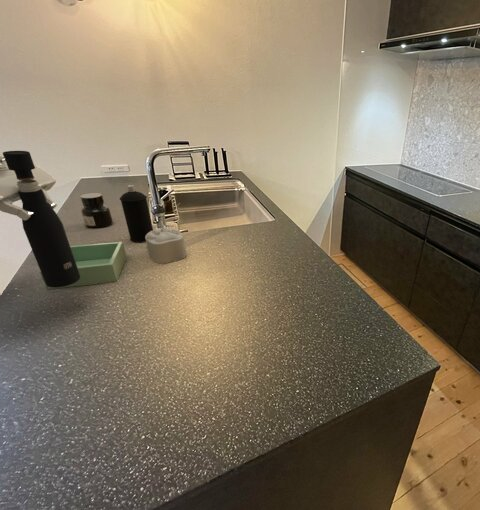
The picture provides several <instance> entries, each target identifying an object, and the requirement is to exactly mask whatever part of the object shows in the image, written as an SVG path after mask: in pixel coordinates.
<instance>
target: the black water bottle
mask: <svg viewBox="0 0 480 510" xmlns="http://www.w3.org/2000/svg"><path fill="white" fill-rule="evenodd" d="M2 157H4V158H5V161H6V163H7V166H8V168H9V170H13V171H15V174H16V177H17V179H18V180H22V181H18V182H17V186H19V187H18V189H20V190H19V191H18V193H19V196H20V198H21V200H20V201H21V204H22V207H21V208H23V209H24V208H28V209H29V210H30V211H32V212H33V213H34V215H33V216H32V217H31V218H30V219H28V220H22V219H21V224H22V228H23V231H24V234H25V236H26V238H27V241H28V243H29V246H30V247H31V248H30V249H31V251H32V253H33V256H34V258H35V261H36V263H37V266H38V268H39V272H40V271H41V273H42V276H43V278H44V281H45V283H46V285H47V286H48V287H53V288H55V287H64V286H68V285H71V284H73V283H75V282H77V281H78V280H79V279H80V274H79V271H78V268H77V265H76V262H75V259H74V256H73V253H72V250H71V247H70V246H71V245H70V242H69V239H68V236H67V233H66V230H65V227H64V224H63V222H62V220H61V218H60V217H59V215H58V213H57V212H56V211H55V210H54V209H52V207H51V206H50V205H49V204H48V203H47V201H46V198H45V196H44V193H43V190H42V189H40V186H39V185H38V184H39V183H38V182H37V181H36V180H32V179H34V176H33V173H32V171H31V170H32V169H35V166H34V164H35V163H34V161H33V158H32V155H31V153H30V151H28V150H8V151H3V152H2ZM42 276H41V277H42ZM44 281H43V282H44ZM45 283H44V284H45Z"/></svg>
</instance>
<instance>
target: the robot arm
mask: <svg viewBox="0 0 480 510" xmlns="http://www.w3.org/2000/svg"><path fill="white" fill-rule="evenodd" d="M34 166H35V169H32V170H31V171H32V173H33V176H34V179H32V180H36V181H37V182H38V183H39V184H38V185H39V186H40V189H42V190H43V193H44V196H45V198H46V201H47V203H48V204H49V205H50V206H51V207H52V209H53V210H54V209H56V207H57V206H58V204H57V202H55V200H53V199H51V197H50V195H49V193H48V191H50V190H51V189H52V188H53V187H54V185H56V183H57V180H56V178H55V177H54V176H53V174H51V173H49V172H47V170H45V169H43V168H42V167H40V166H39V165H37V164H35V163H34ZM18 181H22V180H18V179H17V177H16V174H15V171H13V170H9V168H8V166H7V163H6V161H5V158H4V156H3V155H1V154H0V211H1V213H2V212H3V213H5V214H6V213H7V214H9V215H13V216H15V217H18V218H19V219H20V220H21V221H22V220H28V219H30V218H31V217H32V216H33V215H34V213H33V212H32V211H30V210H29V209H28V208H24V209H23V208H22V207H20V206H17V205H14V203H15V202H18V201H21V198H20V196H19V193H18V191H19V190H20V189H18V187H19V186H17V182H18Z"/></svg>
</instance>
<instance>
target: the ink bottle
mask: <svg viewBox="0 0 480 510" xmlns="http://www.w3.org/2000/svg"><path fill="white" fill-rule="evenodd" d="M79 199H80V202H81V204H82V206H83V208H81V211H80V212H81V216H82V218H83V221H84V224H85V227H86V228H89V229H101V228H105V227H108V226H109V227H110V226H111V225H112V224H113V223H114V221H113V217H112V214H111V211H110V208H109V206H107V205H106V204H105V200H104V197H103V194H102V193H99V192H98V193H97V192H92V193H91V192H90V193H85V194H84V193H83V194H81V195H80V196H79Z"/></svg>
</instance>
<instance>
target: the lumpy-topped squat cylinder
mask: <svg viewBox="0 0 480 510" xmlns="http://www.w3.org/2000/svg"><path fill="white" fill-rule="evenodd" d="M145 239H146V242H145V243H146V247H147V251H148V256H149V258H150V259H151V261H152V262H153V263H155V264H159V265H163V264H168V263H171V262H175V261H179V260H183V259H184V258H186V257H187V251H186V246H185V240H184V236H183V234H182V233H181V232H180V230H179V229H178V228H168V227H167V226H164V227H160V228H153V231H150V232H149V233H148V234H147V235H146V236H145ZM185 256H186V257H185Z"/></svg>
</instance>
